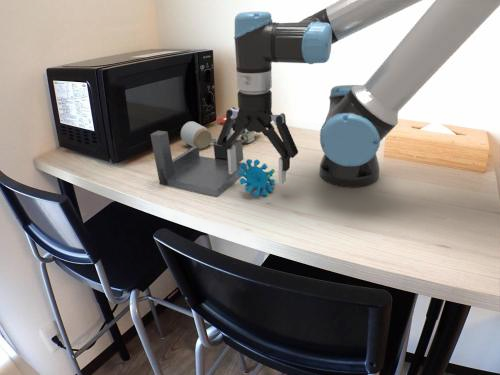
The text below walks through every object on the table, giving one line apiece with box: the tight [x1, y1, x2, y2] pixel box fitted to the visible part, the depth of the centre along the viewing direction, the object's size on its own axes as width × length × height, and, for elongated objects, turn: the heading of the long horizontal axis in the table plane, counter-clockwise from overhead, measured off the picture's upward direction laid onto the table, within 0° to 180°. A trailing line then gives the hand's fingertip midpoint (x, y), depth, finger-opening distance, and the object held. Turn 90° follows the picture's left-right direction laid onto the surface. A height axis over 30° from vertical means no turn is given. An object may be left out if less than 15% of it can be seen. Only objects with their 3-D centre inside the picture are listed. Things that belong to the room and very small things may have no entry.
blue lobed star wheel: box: [238, 159, 276, 197], centre depth 92 cm, size 11×6×10 cm
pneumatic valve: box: [232, 108, 256, 145], centre depth 120 cm, size 6×12×12 cm, turn 142°
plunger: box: [216, 113, 235, 140], centre depth 105 cm, size 5×5×9 cm
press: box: [150, 130, 248, 198], centre depth 100 cm, size 18×22×14 cm
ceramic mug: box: [180, 121, 218, 150], centre depth 120 cm, size 11×8×8 cm
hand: (256, 176), depth 91 cm, fingers open, 13 cm apart
